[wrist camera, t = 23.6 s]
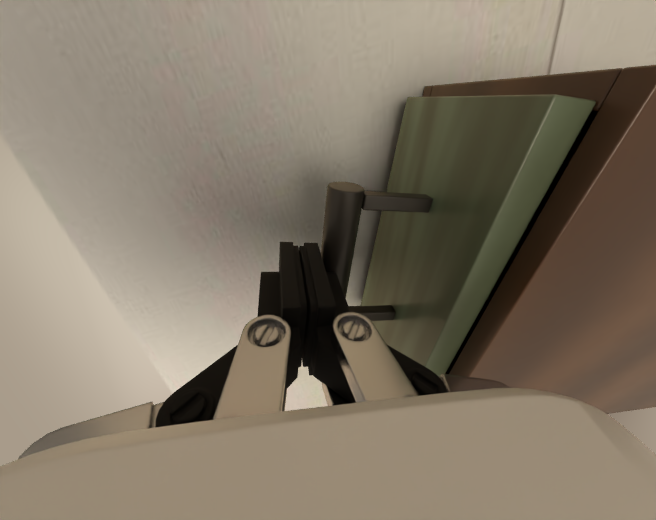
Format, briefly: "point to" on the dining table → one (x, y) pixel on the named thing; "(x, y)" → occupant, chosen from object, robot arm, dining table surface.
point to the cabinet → (581, 255)
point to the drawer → (452, 213)
